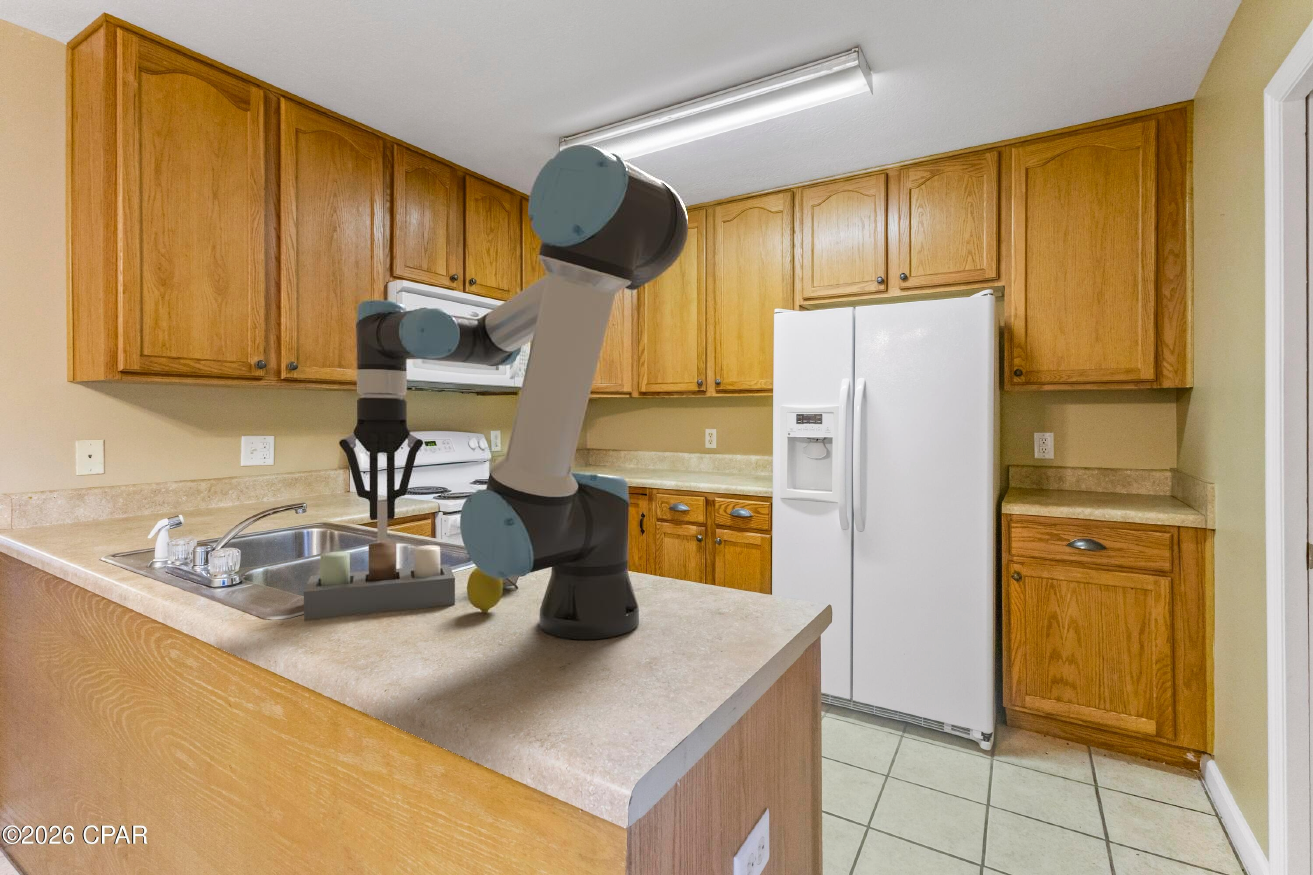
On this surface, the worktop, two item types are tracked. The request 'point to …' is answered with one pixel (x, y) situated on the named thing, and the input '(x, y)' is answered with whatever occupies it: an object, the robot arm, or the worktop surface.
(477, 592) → the lemon
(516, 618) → the worktop surface
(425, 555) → the key ivory
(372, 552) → the key walnut
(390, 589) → the grey slotted block
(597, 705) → the worktop surface
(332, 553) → the key sage
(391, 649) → the worktop surface
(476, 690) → the worktop surface
